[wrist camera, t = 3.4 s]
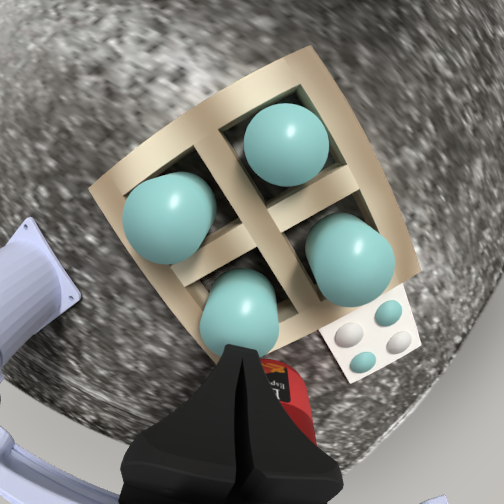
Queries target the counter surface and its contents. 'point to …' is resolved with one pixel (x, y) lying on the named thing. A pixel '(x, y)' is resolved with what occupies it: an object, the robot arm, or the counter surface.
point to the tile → (373, 335)
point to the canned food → (291, 394)
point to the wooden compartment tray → (252, 202)
